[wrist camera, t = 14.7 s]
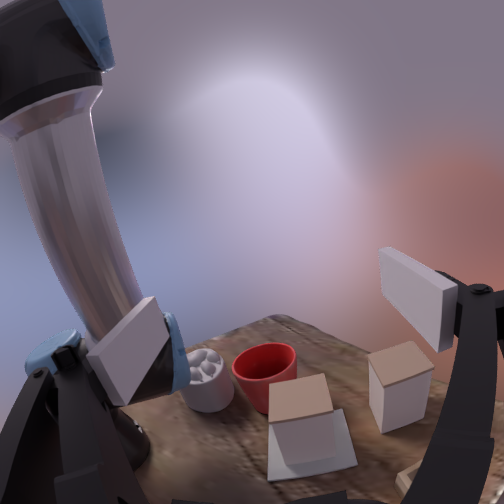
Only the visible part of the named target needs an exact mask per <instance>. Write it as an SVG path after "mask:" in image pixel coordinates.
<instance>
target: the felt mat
mask: <svg viewBox="0 0 504 504" xmlns="http://www.w3.org/2000/svg"><path fill="white" fill-rule="evenodd" d="M332 418H333V428H334V438H335V448H336V456H335V457H331V458H326V459H321V460H316V461H310V462H305V463H299V464H292V465H285V463H284V460H283V457H282V454H281V451H280V448H279V445H278V442H277V439H276V436H275V433H274V430H273V427H272V424H271V425H269V447H268V482H269V481H279V480H287V479H295V478H301V477H308V476H313V475H319V474H324V473H329V472H333V471H338V470H342V469H346V468H350V467H354V466H358V463H357V460H356V456H355V452H354V448H353V445H352V441H351V437H350V434H349V430H348V427H347V423H346V420H345V416H344V413H343V409H338V410H334V413H332Z"/></svg>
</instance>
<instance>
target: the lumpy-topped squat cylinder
mask: <svg viewBox="0 0 504 504" xmlns="http://www.w3.org/2000/svg"><path fill="white" fill-rule="evenodd" d="M186 355H187V358H188V362H189V366H190V371H191V382H190V384H189V385H188V386H187V387H185V388H183V389H180V392H181V394H182V396H183V398H184V400H185V402H186V404H187V405H188V406H189V407H190V408H191V409H194V410H196V411H200V412H217V411H220V410H222V409H224V408H225V407H227V406H228V405H229V404H230V402H231V401H232V399H233V396H234V386H233V383H232V381H231V378H230V375H229V373H228V370H227V367H226V364H225V362H224V360H223V359H222V357H221V356H220V355H219V354H218V353H217V352H215V351H213V350H212V349H197V350H195V351H193V352H191V353H189V354H186Z"/></svg>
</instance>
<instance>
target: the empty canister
mask: <svg viewBox="0 0 504 504" xmlns="http://www.w3.org/2000/svg"><path fill="white" fill-rule="evenodd" d="M367 359H368V360H369V392H370V401H369V405H370V407H371V410H372V412H373V415H374V417H375V419H376V422H377V424H378V427H379V429H380V432H381V434H383V433H386V432H389V431H392V430H394V429H397V428H400V427H403V426H405V425H408V424H410V423H413V422H415V421H418V420H420V419H423V418H424V414H425V410H426V405H427V400H428V394H429V388H430V382H431V375H432V370H434V368H435V366H434V365H433V364H432V363H431V362H430V360H429V359H428V358H427V357H426V356H425V355H424V353H423V352H422V351H421V350H420V349H419V347H418V346H417V345H416V344H415V343H414V342H413V341H412V340H411V341H408V342H405V343H403V344H399V345H397V346H394V347H391V348H387V349H384V350H381V351H378V352H375V353H371V354H368V355H367Z"/></svg>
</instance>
